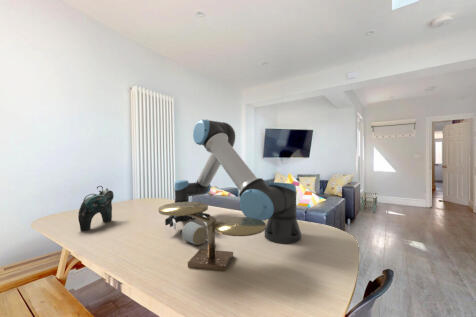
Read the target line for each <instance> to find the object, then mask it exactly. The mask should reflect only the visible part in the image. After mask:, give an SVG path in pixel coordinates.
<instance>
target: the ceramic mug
mask: <svg viewBox="0 0 476 317" xmlns="http://www.w3.org/2000/svg"><path fill="white" fill-rule="evenodd" d="M181 236H182V239H183V240H185V241H186V242H188V243H191V244H192V245H195V246H200V245H203V244H204V243H205V242H206V241H208V229H207V228H205V227H204V226H203V225H201V224H199V223H196V222H195V221H188V222H186V223H185V225H184V226H183V228H182V231H181Z"/></svg>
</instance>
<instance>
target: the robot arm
mask: <svg viewBox="0 0 476 317" xmlns="http://www.w3.org/2000/svg"><path fill="white" fill-rule="evenodd" d="M192 137H193V141H194V143H195V144H196V145H199V146H203V147H204V148H205V150H206V151H207V152H208V153H210V155H209V157H208V158H207V160H206V163H205V165H204V166H203V168H202V171H201V172H200V174H199V176H198V178H197V180H196V181H195V182H189V180H186V179H182V180H181V179H180V180H176V181H174V203H177V202H190V197H194V196H201V195H203V196H204V195H205V194H206V195H207V194H209V193H210V192H211V188H212V187H211V183H212V181H213V179H214V177H215V175H216V174H217V172H218V170H219V168H220V167H221V166H222V168H223V169H224V171H225V172H226V173H227V175H228V177H229V178H230V180H231V181H232V182H233V183H234V185H235V187H236V188H237V189H238V190H239V192H238V193H239V194H238V198H239V204H240V206H239V207H240V210H241V212H242V214H243V215H244V217H248V218H255V219H259V220H261V221H263V222H264V221H266V220H267V221H266V228H265V230H264V238H265V239H266V240H268V241H270V242H273V243H277V244H293V243H297V242H300V241H301V240H302V232H301V228H300V226H299V224H298V219H297V194H298V193H297V186H296V185H295V184H294V183H291V182H290V183H287V182H277V181H269V182H266V181H265V180H264V179H263V178H262V177H257V176H256V175H255V174H254V173H253V172H254V171H252V170H251V169H250V168H249V166H248V165H247V164H246V163H245V160H243V159H242V157H241V156H240V155H239V154H238V152H237V151H236V150H235V148H234V145H235V142H236V132H235V128H234V127H233V126H232V125H231V124H229V123H228V122H222V121H217V120H216V121H215V120H210V119H200V120H198V121H197V122H196V123H195V125H194V127H193V134H192ZM197 215H200V216H203V217H206V218H208V217H209V216H211V214H209V213H205V212H202V213H198V214H197ZM196 220H197V221H199V220H198V219H195V218H193V217H190V216H187V215H185V216H168V217H166V218H165V219H164V222H165V226H168V225H169V228H171V227H172V228H173V230H176V229H177V223H179V222H180V223H181V222H183V223H188V222H190V221H196ZM202 222H203V223H204V225H205V226H207V227H208V225H207V223H206V222H204V221H202Z"/></svg>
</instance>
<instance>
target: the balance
mask: <svg viewBox="0 0 476 317" xmlns="http://www.w3.org/2000/svg"><path fill="white" fill-rule="evenodd" d="M208 209H209V204H207V203H205V202H201V201H200V202H199V201H189V202H177V203H175V202H171V203H166V204H164V205H161V206H159V207H158V213H159V214H160V215H164V216H168V217H169V216H185V215H187V216H190V217H193V218H195V220H196V219H198V220H197V221H201V222H203V221H204V222H206V223H207V234H208V240H207V248H206V249H204V248H200V249H199V250H198V251H197V252H196V253H194V255H193V256H192V257H191V258H190V259H189V260H188V261H187V268H191V269H200V270H208V271H209V270H210V271H218V272H226V271H227V269H228V267H229V265H230V264H231V262H232V260H233V258H234V251H231V250H229V251H227V250H218V249H217V250H216V233H218V234H220V235H225V236H228V237H230V236H231V237H250V236H255V235H260V234H261V233H263V232H265V228H266V225H267V223H266V222H264V220H263V221H261V220H259V219H255V218H248V217H246V216H244V217H243V216H241V217H240V216H236V217H227V218H224V219H219V220H218V221H217V219H216V216H213V215H210V216H209V217H208V218H206V217H203V216H200V215H197V214H198V213H205V212H207V211H208ZM204 222H203V223H204Z"/></svg>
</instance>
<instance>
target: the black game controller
mask: <svg viewBox="0 0 476 317" xmlns="http://www.w3.org/2000/svg"><path fill="white" fill-rule="evenodd" d="M98 188H101V190H98ZM96 190H98V192H99V193H98V194H97V193H90V194H88V195H86V196H85V197H83V198H84V199H83V201H82V203H81V205H80V207H79V210H78V213H77V214H78V218H77V219H78V223H79V230H80V232H86V231H89V230H91V225H92V220H93V219H94V216H95V215H97V214H100V216H101V220H102V223H109V222H112V221H111V220H113V205H112V202H113V200H114V198H115V196H114V192H113V190H109V189H108V188H107V187H106V189H105V190H104V186H102V185H98V186H96Z"/></svg>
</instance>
